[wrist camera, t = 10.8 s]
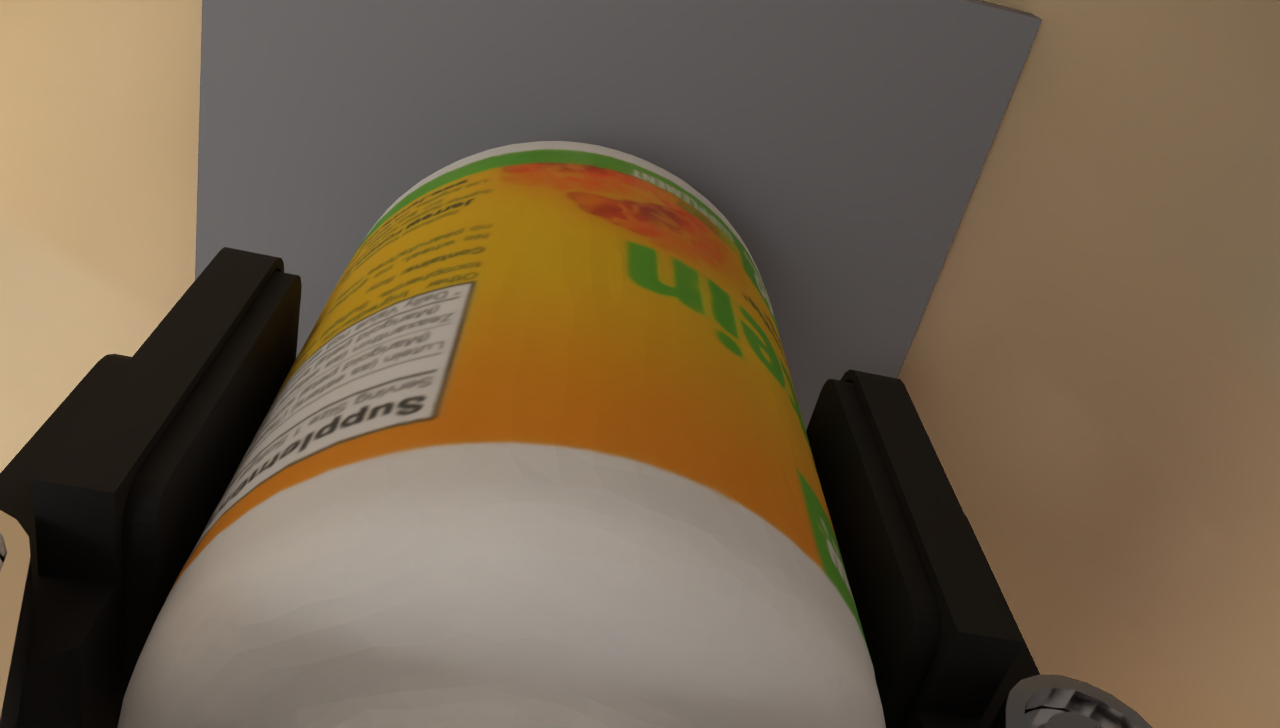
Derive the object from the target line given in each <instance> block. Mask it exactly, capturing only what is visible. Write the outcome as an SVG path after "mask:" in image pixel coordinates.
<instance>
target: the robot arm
mask: <svg viewBox="0 0 1280 728" xmlns="http://www.w3.org/2000/svg"><path fill="white" fill-rule="evenodd" d="M301 287H302V284H301V278H300V276H299V275H294V274H289V273H284V262H283V260H282V258H279V257H274V256H269V255H264V254H259V253H253V252H248V251H243V250H238V249H233V248H228V247H224V248H222V249H221V250H220V251H219V252H218V254H217V255H216V256H215V257H214V258H213V260H212V261H211V262H210V263H209V264H208V266H207V267H206V268H205V269H204V271H203V272H202V273H201V274H200V275H199V277H198V278H197V279H196V280H195V282H194V283H193V284H192V285H191V286H190V288H189V289H188V290H187V291H186V292H185V294H184V295H183V296H182V297H181V299H180V300H179V301H178V302H177V303H176V305H175V306H174V307H173V308H172V309H171V311H170V312H169V313H168V314H167V316H166V317H165V318H164V319H163V320H162V322H161V323H160V324H159V325H158V327H157V328H156V329H155V330H154V331H153V333H152V334H151V335H150V336H149V337H148V339H147V340H146V341H145V342H144V344H143V345H142V346H141V347H140V348H139V350H138V351H137V352H136V353H135V354H134V356H133V357H128V356H123V355H117V354H110V355H106V356H105V357H103V358H102V359H101V360H100V361H99V362H97V364H96V365H95V366H94V367H93V368H92V369H91V370H90V372H89V373H88V374H87V375H86V376H85V377H84V378H83V380H82V381H81V382H80V383H79V384H78V385H77V386H76V388H75V389H74V390H73V391H72V392H71V393H70V394H69V396H68V397H67V398H66V399H65V400H64V401H63V402H62V404H61V405H60V406H59V407H58V408H57V409H56V410H55V412H54V413H53V414H52V415H51V416H50V417H49V418H48V420H47V421H46V422H45V423H44V424H43V425H42V426H41V428H40V429H39V430H38V431H37V432H36V433H35V434H34V436H33V437H32V438H31V439H30V440H29V441H28V442H27V444H26V445H25V446H24V447H23V448H22V449H21V450H20V452H19V453H18V454H17V455H16V456H15V457H14V459H13V460H12V461H11V462H10V463H9V464H8V465H7V467H6V468H5V469H4V470H3V471H2V472H1V473H0V728H117V727H118V722H119V717H120V712H121V708H122V703H123V698H124V695H125V692H126V690H127V687H128V684H129V682H130V679H131V676H132V674H133V671H134V669H135V666H136V663H137V661H138V659H139V656H140V654H141V652H142V649H143V647H144V645H145V643H146V640H147V638H148V636H149V634H150V632H151V629H152V627H153V625H154V623H155V620H156V618H157V616H158V615H159V613H160V611H161V609H162V607H163V605H164V603H165V601H166V599H167V597H168V595H169V593H170V591H171V589H172V587H173V585H174V583H175V581H176V579H177V578H178V576H179V574H180V572H181V570H182V568H183V566H184V565H185V563H186V561H187V559H188V558H189V556H190V554H191V552H192V551H193V549H194V547H195V545H196V544H197V542H198V540H199V539H200V537H201V535H202V533H203V531H204V529H205V527H206V526H207V524H208V522H209V520H210V518H211V516H212V514H213V513H214V511H215V509H216V507H217V505H218V503H219V502H220V500H221V498H222V496H223V494H224V493H225V491H226V489H227V487H228V485H229V483H230V481H231V479H232V478H233V476H234V474H235V472H236V470H237V468H238V466H239V464H240V463H241V461H242V459H243V457H244V455H245V453H246V451H247V450H248V448H249V446H250V444H251V442H252V440H253V438H254V437H255V435H256V433H257V431H258V429H259V427H260V425H261V424H262V422H263V420H264V418H265V416H266V414H267V412H268V411H269V409H270V407H271V405H272V403H273V401H274V399H275V397H276V396H277V394H278V392H279V390H280V388H281V386H282V384H283V382H284V380H285V379H286V377H287V375H288V373H289V371H290V369H291V368H292V366H293V364H294V362H295V360H296V353H297V340H298V328H299V315H300V302H301ZM806 433H807V437H808V440H809V444H810V448H811V452H812V455H813V459H814V462H815V466H816V470H817V473H818V477H819V481H820V484H821V488H822V491H823V495H824V498H825V501H826V505H827V508H828V511H829V515H830V518H831V522H832V525H833V529H834V532H835V536H836V539H837V542H838V546H839V549H840V553H841V556H842V560H843V564H844V567H845V571H846V574H847V578H848V582H849V585H850V589H851V592H852V595H853V598H854V602H855V605H856V609H857V612H858V616H859V619H860V622H861V626H862V629H863V633H864V636H865V640H866V643H867V647H868V650H869V653H870V657H871V660H872V664H873V667H874V673H875V680H876V684H877V688H878V692H879V696H880V700H881V704H882V708H883V714H884V719H885V725H886V728H1152V727H1151V726H1150V725H1149V724H1148V723H1147V722H1146V721H1145V720H1144V719H1143V718H1142V717H1141V716H1140V715H1139V714H1138V713H1137V712H1135V711H1134V710H1133V709H1131V708H1130V707H1128V706H1127V705H1125V704H1124V703H1123V702H1121V701H1120V700H1118V699H1117V698H1115V697H1114V696H1112V695H1111V694H1109V693H1107V692H1104V691H1102V690H1100V689H1098V688H1096V687H1094V686H1092V685H1090V684H1088V683H1086V682H1082V681H1079V680H1075V679H1072V678H1068V677H1064V676H1059V675H1040V673H1039V671H1038V669H1037V667H1036V665H1035V663H1034V661H1033V658H1032V656H1031V654H1030V652H1029V650H1028V648H1027V645H1026V643H1025V641H1024V639H1023V637H1022V635H1021V633H1020V630H1019V628H1018V626H1017V624H1016V622H1015V620H1014V618H1013V615H1012V613H1011V611H1010V609H1009V607H1008V605H1007V602H1006V600H1005V598H1004V596H1003V594H1002V592H1001V590H1000V587H999V585H998V583H997V581H996V579H995V577H994V575H993V572H992V570H991V568H990V566H989V564H988V562H987V560H986V557H985V555H984V553H983V551H982V549H981V547H980V544H979V542H978V540H977V538H976V536H975V534H974V532H973V529H972V527H971V525H970V523H969V521H968V519H967V517H966V516H965V514H964V513H963V510H962V508H961V506H960V504H959V502H958V500H957V497H956V495H955V493H954V491H953V489H952V487H951V485H950V482H949V480H948V478H947V476H946V474H945V472H944V469H943V467H942V465H941V463H940V461H939V459H938V457H937V454H936V452H935V450H934V448H933V446H932V444H931V441H930V439H929V437H928V435H927V433H926V431H925V428H924V426H923V424H922V422H921V420H920V418H919V416H918V413H917V411H916V409H915V407H914V405H913V403H912V400H911V398H910V396H909V394H908V392H907V390H906V388H905V385H904V383H903V382H902V381H901V380H900V379H897V378H892V377H886V376H881V375H876V374H871V373H866V372H861V371H856V370H851V369H850V370H848V371H847V372H845V374H844V375H843V377H842V378H841V380H835V379H828V380H827V381H826V382H825V384H824V385H823V387H822V390H821V392H820V394H819V397H818V400H817V403H816V405H815V408H814V411H813V413H812V416H811V419H810V422H809V424H808V427H807V430H806Z"/></svg>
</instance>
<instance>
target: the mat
mask: <svg viewBox="0 0 1280 728" xmlns="http://www.w3.org/2000/svg"><path fill="white" fill-rule="evenodd" d="M1041 21H1042V19H1040V18H1039V17H1037V16H1035V15H1033V14H1032V13H1028V12H1024V11H1020V10H1016V9H1012V8H1008V7H1004V6H1000V5H996V4H992V3H988V2H984V1H980V0H202V37H201V76H200V114H199V153H198V191H197V230H196V268H195V280H196V279H197V278H198V277H199V275H200V274H201V273H202V272H203V271H204V269H205V268H206V267H207V266H208V264H209V263H210V262H211V261H212V260H213V258H214V257H215V256H216V255H217V254H218V252H219V251H220V250H221V249H222V248H224V247H228V248H233V249H238V250H243V251H248V252H253V253H259V254H264V255H269V256H274V257H279V258H282V260H283V262H284V273H289V274H294V275H299V276H300V278H301V284H302V287H301V302H300V315H299V328H298V340H297V353H296V358H297V357H298V355H299V353H300V351H301V349H302V347H303V346H304V344H305V342H306V340H307V339H308V337H309V335H310V333H311V331H312V329H313V328H314V326H315V324H316V322H317V320H318V318H319V316H320V314H321V313H322V311H323V309H324V307H325V305H326V303H327V301H328V300H329V298H330V296H331V294H332V292H333V290H334V289H335V287H336V285H337V283H338V281H339V280H340V278H341V276H342V275H343V273H344V271H345V269H346V268H347V266H348V264H349V262H350V260H351V259H352V257H353V255H354V253H355V252H356V250H357V249H358V247H359V246H360V245H361V243H362V242H363V240H364V239H365V237H366V236H367V234H368V233H369V231H370V230H371V229H372V227H373V226H374V225H375V223H376V222H377V221H378V220H379V219H380V217H381V216H382V215H383V214H384V213H385V211H386V210H387V209H388V208H389V207H390V206H391V205H392V204H393V203H394V202H395V201H396V200H397V199H398V198H399V197H401V196H402V195H403V194H404V193H406V192H407V191H408V190H409V189H411V188H412V187H413V186H415V185H416V184H417V183H418V182H420V181H421V180H423V179H425V178H426V177H428V176H430V175H431V174H433V173H435V172H436V171H438V170H440V169H442V168H444V167H446V166H448V165H450V164H452V163H454V162H456V161H459V160H461V159H463V158H466V157H469V156H471V155H474V154H477V153H480V152H483V151H486V150H489V149H493V148H497V147H502V146H506V145H511V144H518V143H528V142H537V141H569V142H580V143H587V144H593V145H599V146H603V147H607V148H611V149H614V150H618V151H621V152H625V153H628V154H631V155H634V156H636V157H639V158H641V159H644V160H646V161H648V162H650V163H652V164H654V165H656V166H658V167H661V168H663V169H664V170H666V171H668V172H670V173H671V174H673V175H675V176H677V177H678V178H680V179H681V180H683V181H684V182H686V183H687V184H689V185H690V186H691V187H692V188H694V189H695V190H696V191H697V192H699V193H700V194H701V195H702V196H704V197H705V198H706V199H707V200H709V201H710V202H711V203H712V204H713V205H714V206H715V207H716V208H717V209H718V210H719V211H720V212H721V213H722V214H723V215H724V216H725V218H726V219H727V220H728V221H729V223H730V224H731V225H732V227H733V228H734V229H735V230H736V232H737V233H738V234H739V236H740V237H741V239H742V241H743V242H744V244H745V245H746V247H747V249H748V250H749V252H750V254H751V256H752V258H753V260H754V262H755V264H756V266H757V268H758V271H759V273H760V276H761V278H762V281H763V283H764V286H765V289H766V291H767V294H768V296H769V299H770V303H771V306H772V309H773V312H774V316H775V320H776V324H777V328H778V332H779V336H780V339H781V343H782V347H783V350H784V354H785V357H786V361H787V365H788V368H789V372H790V375H791V379H792V383H793V386H794V390H795V393H796V397H797V400H798V404H799V408H800V411H801V415H802V418H803V422H804V426H805V429H806V430H807V427H808V424H809V422H810V419H811V416H812V413H813V411H814V408H815V405H816V403H817V400H818V397H819V394H820V392H821V390H822V387H823V385H824V384H825V382H826V381H827V380H828V379H835V380H841V378H842V377H843V375H844V374H845V372H847V371H848V370H850V369H851V370H856V371H861V372H866V373H871V374H876V375H881V376H886V377H892V378H897V377H898V375H899V372H900V370H901V367H902V365H903V362H904V360H905V357H906V355H907V352H908V350H909V348H910V345H911V343H912V340H913V338H914V335H915V333H916V330H917V328H918V325H919V323H920V320H921V318H922V315H923V313H924V310H925V308H926V305H927V303H928V301H929V298H930V296H931V293H932V291H933V288H934V286H935V283H936V281H937V278H938V276H939V273H940V271H941V268H942V266H943V263H944V261H945V259H946V256H947V254H948V251H949V249H950V246H951V244H952V241H953V239H954V236H955V234H956V231H957V229H958V226H959V224H960V221H961V219H962V217H963V214H964V212H965V209H966V207H967V204H968V202H969V199H970V197H971V194H972V192H973V189H974V187H975V184H976V182H977V179H978V177H979V174H980V172H981V170H982V167H983V165H984V162H985V160H986V157H987V155H988V152H989V150H990V147H991V145H992V142H993V140H994V137H995V135H996V132H997V130H998V128H999V125H1000V123H1001V120H1002V118H1003V115H1004V113H1005V110H1006V108H1007V105H1008V103H1009V100H1010V98H1011V95H1012V93H1013V90H1014V88H1015V86H1016V83H1017V81H1018V78H1019V76H1020V73H1021V71H1022V68H1023V66H1024V63H1025V61H1026V58H1027V56H1028V53H1029V51H1030V48H1031V46H1032V44H1033V41H1034V39H1035V36H1036V34H1037V31H1038V29H1039V26H1040V24H1041Z"/></svg>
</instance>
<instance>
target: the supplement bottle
mask: <svg viewBox="0 0 1280 728" xmlns="http://www.w3.org/2000/svg"><path fill="white" fill-rule="evenodd" d="M117 728H886V725H885V719H884V714H883V708H882V704H881V700H880V696H879V692H878V688H877V684H876V680H875V673H874V667H873V664H872V660H871V657H870V653H869V650H868V647H867V643H866V640H865V636H864V633H863V629H862V626H861V622H860V619H859V616H858V612H857V609H856V605H855V602H854V598H853V595H852V592H851V589H850V585H849V582H848V578H847V574H846V571H845V567H844V564H843V560H842V556H841V553H840V549H839V546H838V542H837V539H836V536H835V532H834V529H833V525H832V522H831V518H830V515H829V511H828V508H827V505H826V501H825V498H824V495H823V491H822V488H821V484H820V481H819V477H818V473H817V470H816V466H815V462H814V459H813V455H812V452H811V448H810V444H809V440H808V437H807V433H806V429H805V426H804V422H803V418H802V415H801V411H800V408H799V404H798V400H797V397H796V393H795V390H794V386H793V383H792V379H791V375H790V372H789V368H788V365H787V361H786V357H785V354H784V350H783V347H782V343H781V339H780V336H779V332H778V328H777V324H776V320H775V316H774V312H773V309H772V306H771V303H770V299H769V296H768V294H767V291H766V289H765V286H764V283H763V281H762V278H761V276H760V273H759V271H758V268H757V266H756V264H755V262H754V260H753V258H752V256H751V254H750V252H749V250H748V249H747V247H746V245H745V244H744V242H743V241H742V239H741V237H740V236H739V234H738V233H737V232H736V230H735V229H734V228H733V227H732V225H731V224H730V223H729V221H728V220H727V219H726V218H725V216H724V215H723V214H722V213H721V212H720V211H719V210H718V209H717V208H716V207H715V206H714V205H713V204H712V203H711V202H710V201H709V200H707V199H706V198H705V197H704V196H702V195H701V194H700V193H699V192H697V191H696V190H695V189H694V188H692V187H691V186H690V185H689V184H687V183H686V182H684V181H683V180H681V179H680V178H678V177H677V176H675V175H673V174H671V173H670V172H668V171H666V170H664V169H663V168H661V167H658V166H656V165H654V164H652V163H650V162H648V161H646V160H644V159H641V158H639V157H636V156H634V155H631V154H628V153H625V152H621V151H618V150H614V149H611V148H607V147H603V146H599V145H593V144H587V143H580V142H569V141H537V142H528V143H518V144H511V145H506V146H502V147H497V148H493V149H489V150H486V151H483V152H480V153H477V154H474V155H471V156H469V157H466V158H463V159H461V160H459V161H456V162H454V163H452V164H450V165H448V166H446V167H444V168H442V169H440V170H438V171H436V172H435V173H433V174H431V175H430V176H428V177H426V178H425V179H423V180H421V181H420V182H418V183H417V184H416V185H415V186H413V187H412V188H411V189H409V190H408V191H407V192H406V193H404V194H403V195H402V196H401V197H399V198H398V199H397V200H396V201H395V202H394V203H393V204H392V205H391V206H390V207H389V208H388V209H387V210H386V211H385V213H384V214H383V215H382V216H381V217H380V219H379V220H378V221H377V222H376V223H375V225H374V226H373V227H372V229H371V230H370V231H369V233H368V234H367V236H366V237H365V239H364V240H363V242H362V243H361V245H360V246H359V247H358V249H357V250H356V252H355V253H354V255H353V257H352V259H351V260H350V262H349V264H348V266H347V268H346V269H345V271H344V273H343V275H342V276H341V278H340V280H339V281H338V283H337V285H336V287H335V289H334V290H333V292H332V294H331V296H330V298H329V300H328V301H327V303H326V305H325V307H324V309H323V311H322V313H321V314H320V316H319V318H318V320H317V322H316V324H315V326H314V328H313V329H312V331H311V333H310V335H309V337H308V339H307V340H306V342H305V344H304V346H303V347H302V349H301V351H300V353H299V355H298V357H297V358H296V360H295V362H294V364H293V366H292V368H291V369H290V371H289V373H288V375H287V377H286V379H285V380H284V382H283V384H282V386H281V388H280V390H279V392H278V394H277V396H276V397H275V399H274V401H273V403H272V405H271V407H270V409H269V411H268V412H267V414H266V416H265V418H264V420H263V422H262V424H261V425H260V427H259V429H258V431H257V433H256V435H255V437H254V438H253V440H252V442H251V444H250V446H249V448H248V450H247V451H246V453H245V455H244V457H243V459H242V461H241V463H240V464H239V466H238V468H237V470H236V472H235V474H234V476H233V478H232V479H231V481H230V483H229V485H228V487H227V489H226V491H225V493H224V494H223V496H222V498H221V500H220V502H219V503H218V505H217V507H216V509H215V511H214V513H213V514H212V516H211V518H210V520H209V522H208V524H207V526H206V527H205V529H204V531H203V533H202V535H201V537H200V539H199V540H198V542H197V544H196V545H195V547H194V549H193V551H192V552H191V554H190V556H189V558H188V559H187V561H186V563H185V565H184V566H183V568H182V570H181V572H180V574H179V576H178V578H177V579H176V581H175V583H174V585H173V587H172V589H171V591H170V593H169V595H168V597H167V599H166V601H165V603H164V605H163V607H162V609H161V611H160V613H159V615H158V616H157V618H156V620H155V623H154V625H153V627H152V629H151V632H150V634H149V636H148V638H147V640H146V643H145V645H144V647H143V649H142V652H141V654H140V656H139V659H138V661H137V663H136V666H135V669H134V671H133V674H132V676H131V679H130V682H129V684H128V687H127V690H126V692H125V695H124V698H123V703H122V708H121V712H120V717H119V722H118V727H117Z"/></svg>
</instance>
